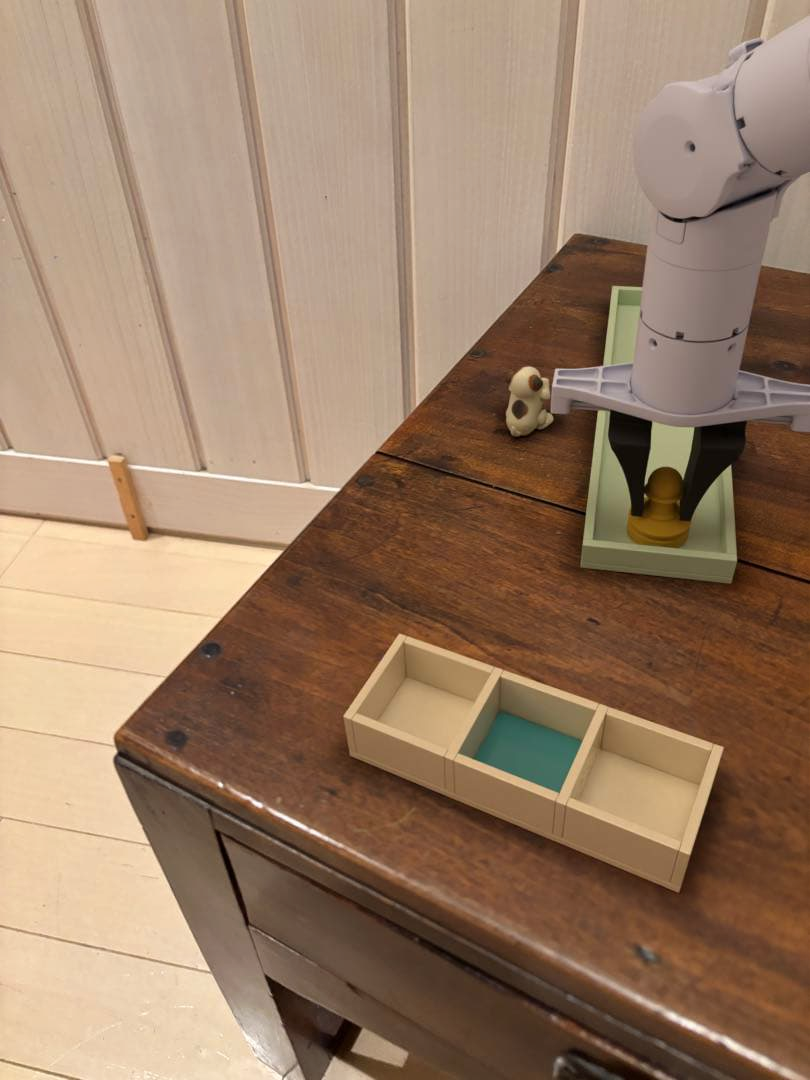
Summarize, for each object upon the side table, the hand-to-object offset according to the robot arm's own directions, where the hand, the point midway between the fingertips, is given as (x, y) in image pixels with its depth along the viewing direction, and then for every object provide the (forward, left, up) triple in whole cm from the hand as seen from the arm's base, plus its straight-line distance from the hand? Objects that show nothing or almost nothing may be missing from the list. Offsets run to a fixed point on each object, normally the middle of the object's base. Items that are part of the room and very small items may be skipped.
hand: (661, 508), depth 58 cm
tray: (+6, -12, -2) cm, 14 cm away
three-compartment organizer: (-2, +20, -2) cm, 20 cm away
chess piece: (0, 0, -2) cm, 2 cm away
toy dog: (+14, -6, -3) cm, 16 cm away
